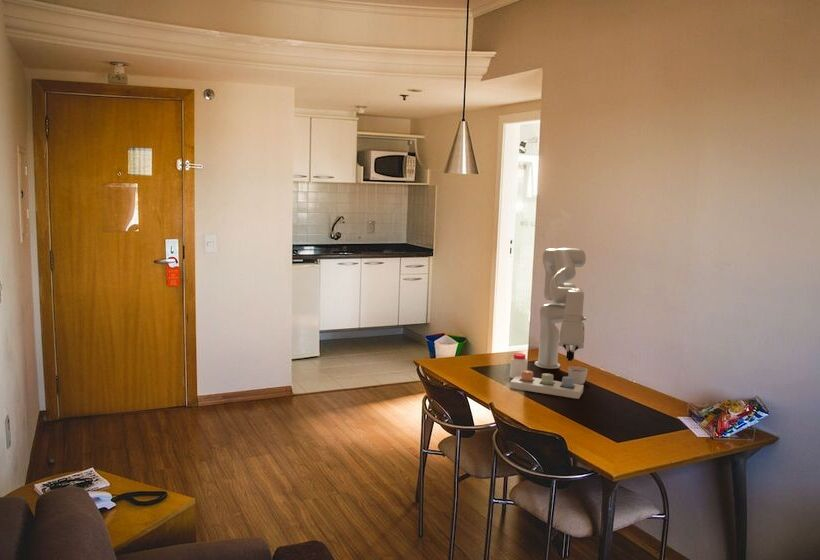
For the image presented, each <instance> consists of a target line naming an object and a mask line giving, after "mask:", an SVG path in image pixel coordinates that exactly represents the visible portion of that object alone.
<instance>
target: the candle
mask: <svg viewBox="0 0 820 560" xmlns="http://www.w3.org/2000/svg"><path fill="white" fill-rule="evenodd" d="M588 371H589V370H588V368H586V367H583V366H577V365H575V366H571V365H570V366H568V367H567V373H568V375H567V376H569V377H573V378H574V384H580V385H584V384H585V382H586V378H587V374H588Z"/></svg>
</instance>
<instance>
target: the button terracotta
mask: <svg viewBox="0 0 820 560" xmlns="http://www.w3.org/2000/svg"><path fill="white" fill-rule="evenodd" d="M533 377H534V371H531V370H528V369H527V370H524V371H522V377H521V381H523V382H532V381H533Z"/></svg>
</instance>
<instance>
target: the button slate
mask: <svg viewBox="0 0 820 560" xmlns="http://www.w3.org/2000/svg"><path fill="white" fill-rule="evenodd" d="M561 382H562V387H563V388H569V389H571V388H573V387H574V378H573V377H569V376H568V375H567V376H566V375H565V376H562V379H561Z"/></svg>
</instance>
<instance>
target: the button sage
mask: <svg viewBox="0 0 820 560" xmlns="http://www.w3.org/2000/svg"><path fill="white" fill-rule="evenodd" d="M541 379H542V381H541V384H543V385H553V381H554V374H553V373H552V374H551V373H541Z"/></svg>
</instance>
